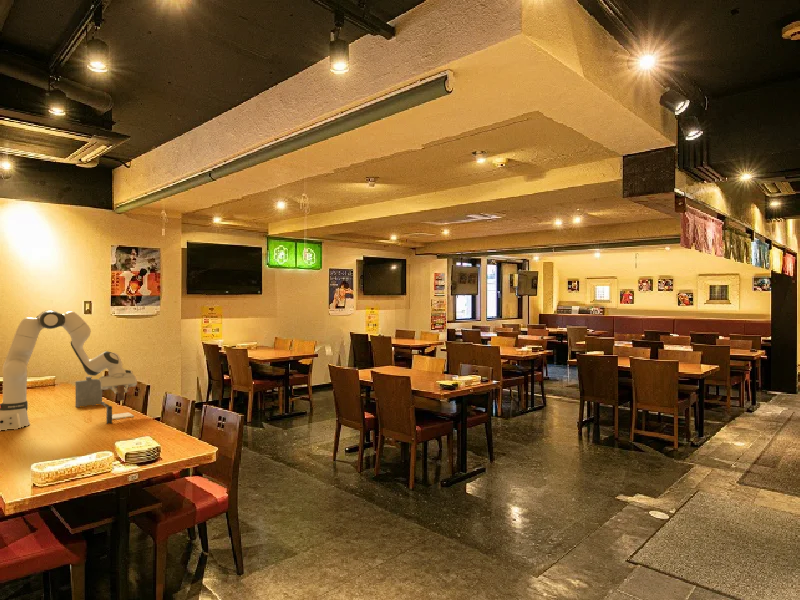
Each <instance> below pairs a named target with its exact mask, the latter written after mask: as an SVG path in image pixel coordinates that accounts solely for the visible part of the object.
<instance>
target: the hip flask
mask: <svg viewBox="0 0 800 600" xmlns="http://www.w3.org/2000/svg"><path fill="white" fill-rule="evenodd" d="M85 379H86V380H76V381H75V408H81V407H80V406H84V407H88V406H87V405H92V406H97V405H96V404H101V402H103V390H102V389H101V382H100V381H99V378H98V379H97V378H93V376H86V377H85Z"/></svg>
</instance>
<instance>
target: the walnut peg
mask: <svg viewBox="0 0 800 600" xmlns="http://www.w3.org/2000/svg"><path fill="white" fill-rule="evenodd" d="M124 389H125V387H124V385H119V386H117V388H116V390H118V393H117V394H116V395H117V396H116V397H117V398H116V400H117V401H119V402H121V401H122V402H123V401H125V399H126V398H125V393H124Z"/></svg>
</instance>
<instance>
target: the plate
mask: <svg viewBox="0 0 800 600" xmlns="http://www.w3.org/2000/svg"><path fill="white" fill-rule="evenodd" d="M126 417H131V418H135V415H134V414H132V413H131V412H128V411H127V412H121V413H114V414H113V413H112V421H114V420H113V419H116V420H121V419H120V418H123V419H127V418H126Z"/></svg>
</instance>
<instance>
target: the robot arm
mask: <svg viewBox="0 0 800 600" xmlns="http://www.w3.org/2000/svg"><path fill="white" fill-rule="evenodd" d="M60 327H61V328H63V329H64V331H66V332H67V333H68V335H69V336H70V338H71V339H70V345H71V349H72V350H73V352H74V354H75V355H76V357H77V359H78V360H79V362H80V363H81V365H82V367H83V370H84V372H85V373H86V374H87V375H88V376H91V377H93V376H97V375H99V374H101V372H103V371H104V370H107V371H108V373H107V374H108V375H106V376H105V375H104V376H101V377H99V378H98V379H99V381H100V382H101V389H102V391H103V390H111V391H112V392H114V394H116V395H117V393H118V390H117V386H119V385H124V394H125V393H127V392H128V388H131V387H136V386H137V384H138V380H137V377H136V376H135V374H134V373H133V370H130V369H126V368H124V367H123V361H122V358H121V357H120V355H119V354H118V353H116V352H111V351H107V350H105V351H103V352H102V353H100V354H98V355H97V356H95V357H93V358H89V356H88V354H87V352H86V351H85V349H84V344H85V343H86V342H87V340H88V339H89V338H90V336H91V332H92V331H91V327H90V325H88V323H87V322H86V321H85V320H84V319H83V318H82V316H81V315H79V314H78V313H76V312H75V311H72V310H71V311H66V312H64V313H60V312H58V311H56V310H53V309H48V310H45V311H42V312H40V313H39V314H38V315H37V316H36V317H30V316H29V317H28V316H27V317H24V318H22V319H21V321H20V322H19V325H18V326H17V329H16V331H15V333H14V336H13V339H12V341H11V344H10V347H9V349H8V352H7V355H6V357H5V360H4V363H3V365H2V403H0V432H2V431H1V430H5V431H8V430H7V429H14V430H19V429H18V428H20V429H21V427H22V428H24V426H26V427H29V426H30V425H31V423H30V421H29V415H28V410H29V403H28V400H27V396H28V395H27V393H28V392H27V390H28V389H27V388H28V386H27V384H28V365H29V362H30V359H31V356H32V354H33V351H34V350H35V347H36V343H37V341H38V339H39V335H40V333H41V331H42V330H43V329H47V330H48V329H49V330H51V329H56V328H60ZM28 425H29V426H28Z"/></svg>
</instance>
